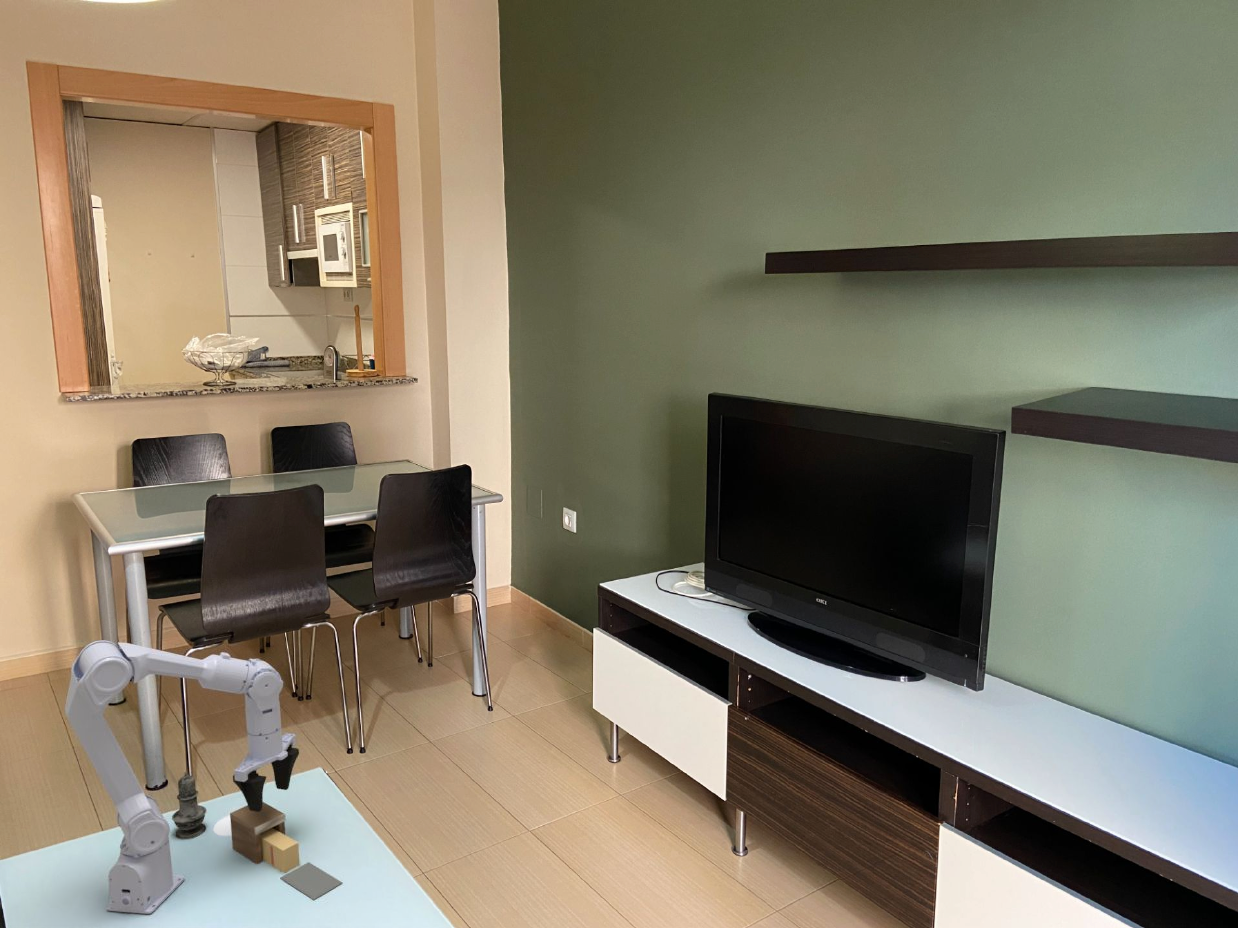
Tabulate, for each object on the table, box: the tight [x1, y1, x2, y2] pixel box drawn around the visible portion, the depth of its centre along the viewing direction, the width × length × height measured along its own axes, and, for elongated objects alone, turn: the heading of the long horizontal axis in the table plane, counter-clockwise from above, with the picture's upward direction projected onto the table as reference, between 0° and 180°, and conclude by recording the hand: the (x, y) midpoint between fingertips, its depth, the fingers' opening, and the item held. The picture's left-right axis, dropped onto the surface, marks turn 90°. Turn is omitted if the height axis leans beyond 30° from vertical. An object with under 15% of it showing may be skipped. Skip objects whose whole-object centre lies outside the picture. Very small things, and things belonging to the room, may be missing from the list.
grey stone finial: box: [171, 771, 207, 840], centre depth 168 cm, size 6×6×12 cm
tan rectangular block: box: [260, 828, 301, 874], centre depth 160 cm, size 3×12×4 cm, turn 54°
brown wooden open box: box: [229, 801, 287, 865], centre depth 163 cm, size 6×8×7 cm
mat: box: [280, 862, 343, 901], centre depth 154 cm, size 6×10×1 cm, turn 53°
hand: (269, 798), depth 162 cm, fingers open, 7 cm apart
